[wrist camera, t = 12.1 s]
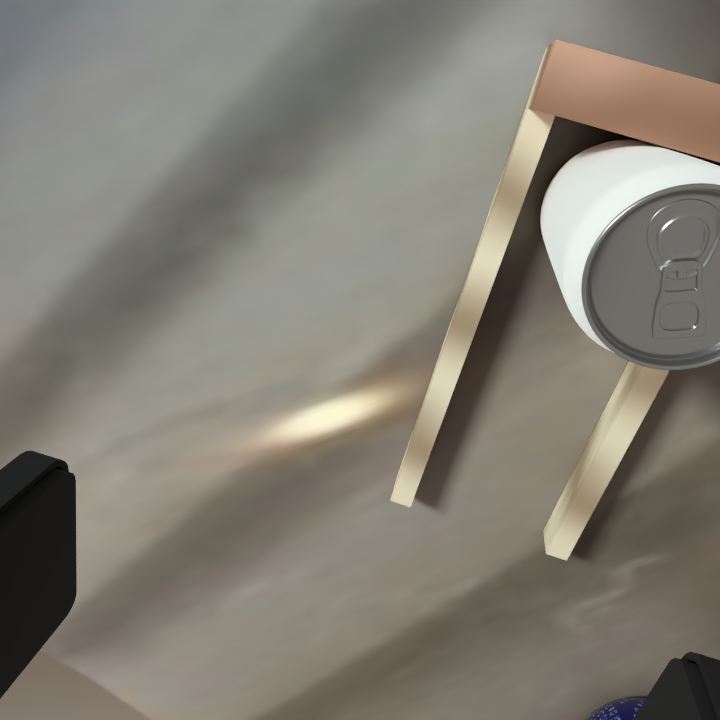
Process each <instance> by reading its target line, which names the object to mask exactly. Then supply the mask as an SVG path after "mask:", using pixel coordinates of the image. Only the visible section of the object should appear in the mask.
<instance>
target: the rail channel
mask: <svg viewBox="0 0 720 720" xmlns="http://www.w3.org/2000/svg"><path fill="white" fill-rule="evenodd" d="M555 116H558V117H562V118H565V119H569V120H572V121H576V122H579V123H583V124H586V125H590V126H593V127H597V128H600V129H604V130H607V131H611V132H614V133H618V134H621V135H625V136H628V137H632V138H635V139H639V140H642V141H646V142H649V143H653V144H656V145H660V146H664V147H667V148H671V149H674V150H678V151H681V152H685V153H688V154H692V155H695V156H699V157H702V158H706V159H709V160H713V161H716V162H720V84H717V83H713V82H709V81H706V80H702V79H698V78H695V77H691V76H687V75H684V74H680V73H677V72H673V71H669V70H666V69H662V68H658V67H655V66H651V65H647V64H644V63H640V62H637V61H633V60H629V59H626V58H622V57H618V56H615V55H611V54H607V53H604V52H600V51H597V50H593V49H589V48H586V47H582V46H578V45H575V44H571V43H567V42H564V41H560V40H557V39H556V40H555V41H554V42H553V43H552V44H551V45H550V46H548V47H547V48H546V50H545V53H544V55H543V58H542V61H541V64H540V67H539V70H538V73H537V76H536V78H535V81H534V84H533V87H532V90H531V93H530V96H529V99H528V101H527V104H526V107H525V110H524V113H523V116H522V119H521V122H520V124H519V127H518V130H517V133H516V136H515V139H514V142H513V145H512V147H511V150H510V153H509V156H508V159H507V162H506V165H505V168H504V170H503V173H502V176H501V179H500V182H499V185H498V188H497V191H496V193H495V196H494V199H493V202H492V205H491V208H490V211H489V214H488V216H487V219H486V222H485V225H484V228H483V231H482V234H481V237H480V239H479V242H478V245H477V248H476V251H475V254H474V257H473V260H472V262H471V265H470V268H469V271H468V274H467V277H466V280H465V283H464V285H463V288H462V291H461V294H460V297H459V300H458V303H457V306H456V308H455V311H454V314H453V317H452V320H451V323H450V326H449V329H448V331H447V334H446V337H445V340H444V343H443V346H442V349H441V352H440V354H439V357H438V360H437V363H436V366H435V369H434V372H433V375H432V377H431V380H430V383H429V386H428V389H427V392H426V395H425V398H424V400H423V403H422V406H421V409H420V412H419V415H418V418H417V421H416V423H415V426H414V429H413V432H412V435H411V438H410V441H409V444H408V446H407V449H406V452H405V455H404V458H403V461H402V464H401V467H400V469H399V472H398V475H397V478H396V481H395V485H394V489H393V493H392V497H391V500H390V501H393V502H396V503H399V504H402V505H405V506H408V507H411V504H412V502H413V499H414V496H415V494H416V491H417V488H418V485H419V483H420V480H421V477H422V475H423V472H424V469H425V467H426V464H427V461H428V458H429V456H430V453H431V450H432V448H433V445H434V442H435V439H436V437H437V434H438V431H439V429H440V426H441V423H442V421H443V418H444V415H445V412H446V410H447V407H448V404H449V402H450V399H451V396H452V394H453V391H454V388H455V385H456V383H457V380H458V377H459V375H460V372H461V369H462V367H463V364H464V361H465V358H466V356H467V353H468V350H469V348H470V345H471V342H472V340H473V337H474V334H475V331H476V329H477V326H478V323H479V321H480V318H481V315H482V313H483V310H484V307H485V304H486V302H487V299H488V296H489V294H490V291H491V288H492V286H493V283H494V280H495V277H496V275H497V272H498V269H499V267H500V264H501V261H502V259H503V256H504V253H505V250H506V248H507V245H508V242H509V240H510V237H511V234H512V231H513V229H514V226H515V223H516V221H517V218H518V215H519V213H520V210H521V207H522V204H523V202H524V199H525V196H526V194H527V191H528V188H529V186H530V183H531V180H532V177H533V175H534V172H535V169H536V167H537V164H538V161H539V159H540V156H541V153H542V150H543V148H544V145H545V142H546V140H547V137H548V134H549V132H550V129H551V126H552V123H553V121H554V118H555ZM669 371H670V370H660V369H653V368H648V367H644V366H640V365H637V364H635V363H632V362H630V361H629V362H628V364H627V366H626V368H625V370H624V372H623V374H622V376H621V378H620V380H619V382H618V384H617V386H616V388H615V390H614V392H613V394H612V396H611V398H610V400H609V402H608V404H607V406H606V408H605V410H604V412H603V414H602V416H601V418H600V420H599V422H598V424H597V426H596V428H595V430H594V431H593V433H592V435H591V437H590V439H589V441H588V443H587V445H586V447H585V449H584V451H583V453H582V455H581V457H580V459H579V461H578V463H577V465H576V467H575V469H574V471H573V473H572V475H571V477H570V479H569V481H568V483H567V485H566V487H565V489H564V491H563V493H562V495H561V497H560V499H559V501H558V503H557V505H556V507H555V509H554V511H553V513H552V515H551V517H550V519H549V521H548V523H547V525H546V527H545V529H544V531H543V532H544V541H545V550H546V554H548V555H551V556H554V557H557V558H560V559H563V560H566V561H567V559H568V557H569V555H570V554H571V552H572V550H573V548H574V546H575V544H576V543H577V541H578V539H579V537H580V535H581V533H582V531H583V530H584V528H585V526H586V524H587V522H588V520H589V519H590V517H591V515H592V513H593V511H594V509H595V507H596V506H597V504H598V502H599V500H600V498H601V496H602V495H603V493H604V491H605V489H606V487H607V485H608V484H609V482H610V480H611V478H612V476H613V474H614V472H615V471H616V469H617V467H618V465H619V463H620V461H621V460H622V458H623V456H624V454H625V452H626V450H627V448H628V447H629V445H630V443H631V441H632V439H633V437H634V436H635V434H636V432H637V430H638V428H639V426H640V424H641V423H642V421H643V419H644V417H645V415H646V413H647V412H648V410H649V408H650V406H651V404H652V402H653V401H654V399H655V397H656V395H657V393H658V391H659V389H660V388H661V386H662V384H663V382H664V380H665V378H666V377H667V375H668V373H669Z"/></svg>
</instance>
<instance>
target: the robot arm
mask: <svg viewBox="0 0 720 720" xmlns="http://www.w3.org/2000/svg"><path fill="white" fill-rule="evenodd" d="M75 597H76V480H75V476H74V474H73V473H70V472H69V470H68V465H67V463H66V462H65V461H63V460H60V459H57V458H53V457H50V456H47V455H44V454H40V453H37V452H34V451H26V452H24V453H22V454H20V455H19V456H18V457H16V458H15V459H14V460H12V461H11V462H10V463H9V464H7V465H6V466H5V467H3V468H2V469H1V470H0V698H1V697H2V696H3V695H4V693H5V692H6V691H7V690H8V688H9V687H10V686H11V685H12V683H13V682H14V681H15V680H16V678H17V677H18V676H19V675H20V673H21V672H22V671H23V670H24V668H25V667H26V666H27V665H28V663H29V662H30V661H31V660H32V659H33V657H34V656H35V655H36V654H37V652H38V651H39V650H40V649H41V647H42V646H43V645H44V644H45V642H46V641H47V640H48V639H49V637H50V636H51V635H52V634H53V632H54V631H55V630H56V629H57V628H58V626H59V625H60V624H61V623H62V621H63V620H64V619H65V618H66V616H67V615H68V613H69V612H70V610H71V608H72V606H73V604H74V601H75ZM633 720H720V660H717V659H714V658H710V657H707V656H704V655H700V654H697V653H693V652H689V653H687V654H685V655H684V656H683V658H682V659H677V658H674V659H672V660H671V661H670V662H669V663H668V665H667V666H666V668H665V669H664V671H663V673H662V674H661V676H660V677H659V679H658V680H657V682H656V684H655V685H654V687H653V688H652V690H651V691H650V693H649V695H648V696H647V698H646V699H645V701H644V702H643V704H642V706H641V707H640V709H639V710H638V712H637V713H636V715H635V717H634V718H633Z"/></svg>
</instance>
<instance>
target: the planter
mask: <svg viewBox="0 0 720 720" xmlns="http://www.w3.org/2000/svg"><path fill="white" fill-rule="evenodd" d="M645 699H646V698H627V699H622V700H618V701H614V702H611V703H609V704H606V705H604V706H602V707H600V708H599V709H597V710H595V711H594V712H593V713H592V714H591V715H590V716H589V717H588V718H587V719H586V720H633V718H634V717H635V715H636V713H637V712H638V710H639V709H640V707H641V706H642V704H643V702H644V701H645Z"/></svg>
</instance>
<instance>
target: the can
mask: <svg viewBox="0 0 720 720" xmlns="http://www.w3.org/2000/svg"><path fill="white" fill-rule="evenodd" d="M540 223H541V232H542V236H543V240H544V243H545V246H546V249H547V252H548V255H549V258H550V261H551V264H552V267H553V269H554V272H555V275H556V278H557V280H558V283H559V286H560V289H561V291H562V294H563V296H564V299H565V301H566V304H567V306H568V308H569V310H570V312H571V314H572V316H573V317H574V319H575V321H576V322H577V323H578V325H579V326H580V327H581V328H582V330H583V331H584V332H585V333H586V334H587V335H588V336H589V337H590V338H591V339H592V340H594V341H595V342H596V343H597V344H599V345H600V346H602V347H603V348H605V349H607V350H609V351H611V352H613V353H615V354H617V355H618V356H620V357H622V358H624V359H626V360H628V361H630V362H632V363H635V364H637V365H640V366H644V367H648V368H653V369H660V370H685V369H693V368H698V367H702V366H706V365H709V364H712V363H715V362H718V361H720V166H718V165H715V164H712V163H709V162H707V161H703V160H700V159H697V158H694V157H691V156H688V155H685V154H682V153H678V152H675V151H672V150H669V149H666V148H662V147H659V146H656V145H652V144H649V143H645V142H641V141H636V140H616V141H610V142H606V143H602V144H599V145H596V146H593V147H591V148H588V149H586V150H584V151H582V152H580V153H579V154H577V155H576V156H574V157H573V158H571V159H570V160H569V161H568V162H567V163H566V164H565V165H564V166H563V167H562V168H561V169H560V170H559V171H558V172H557V174H556V175H555V176H554V178H553V179H552V181H551V183H550V184H549V186H548V188H547V190H546V193H545V196H544V199H543V202H542V207H541V216H540Z"/></svg>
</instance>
